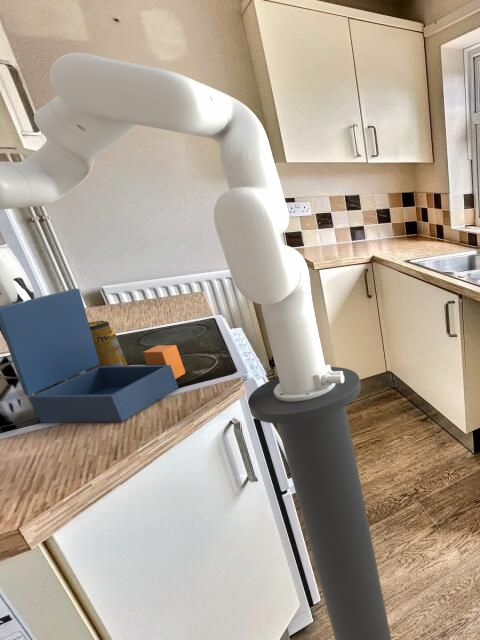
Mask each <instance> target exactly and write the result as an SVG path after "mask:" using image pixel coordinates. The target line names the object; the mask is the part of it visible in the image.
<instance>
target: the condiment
mask: <svg viewBox="0 0 480 640" xmlns="http://www.w3.org/2000/svg"><path fill="white" fill-rule="evenodd" d="M88 323H89V327H90V330H91V334H92V337H93V341H94V345H95V348H96V352H97V356H98V359H99V363H100V364H99V365H97V366H95V367H93V368H90V370H92V369H94V368H96V367H98V366H143V365H144V364H131V365H128V363H127V362H128V361H127V360H126V357H125V355H124V352H123V350H122V347H121V345H120V341H119V339H118V337H117V334H116V333H115V332H114V331H113V330H112V328H111V326H110V323H109V322H108V321H107V320H95V321H90V322H89V321H88Z"/></svg>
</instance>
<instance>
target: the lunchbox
mask: <svg viewBox="0 0 480 640" xmlns="http://www.w3.org/2000/svg"><path fill="white" fill-rule="evenodd" d="M142 365H143V366H128V365H127V366H98V367H96V368H94V369H88V370H86V371H84V372H82V373H79V374H77V375H75V376H72V377H70V378H68V379H66V380H63V381H61V382H59V383H57V384H54V385H52V386H50V387H48V388H45V389H43V390H41V391H39V392H36V393H34V394H32V395H29V396H28V400H29V402H30V404H31V406H32V407H33V410H34V412H35V414H36V416H37V418H38V419H39V421H40V423H42V424H43V423H44V424H45V423H46V424H47V423H109V422H110V423H117V422H118V423H121V422H124V421H125V420H127V419H129V418H130V417H132V416H134V415H136V414H137V413H139V412H141V411H142V410H144V409H145V408H147V407H149V406H151V405H152V404H154V403H155V402H157V401H158V400H160V399H162V398H163V397H166V396H167V395H168V394H170V393H172V392H174V391H175V390H177V389H178V388H179V384H178V381H177V378H176V379H175V376H174V373H173V371H172V368H171V365H147V364H146V365H145V364H142Z"/></svg>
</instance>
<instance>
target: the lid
mask: <svg viewBox="0 0 480 640" xmlns="http://www.w3.org/2000/svg"><path fill="white" fill-rule="evenodd" d="M0 327H1V329H2V332H3V335H4V337H3V339H4V338H5V339H4V341H5V343H6V346H7V349H8V352H9V354H10V358H11V360H12V364H13V366H14V368H15V371H16V374H17V378H18V380H19V382H20V383H19V384H20V385H21V388H22V391H23V393H24V395H25V396H32V395H34V394H37V393H39V392H41V391H44V390H46V389H48V388H50V387H53V386H55V385H57V384H59V383H62V382H64V381H66V380H69V379H71V378H73V377H75V376H78V375H80V374H82V373H84V372H87V371H89V370H91V368H93V367H95V366H97V365H99V364H100V363H99V359H98V356H97V352H96V348H95V345H94V341H93V337H92V334H91V330H90V327H89V320H88V315H87V311H86V308H85V305H84V302H83V298H82V295H81V290H80V288H76V287H75V288H71V289H68V290H63V291H59V292H54V293H49V294H47V295H42V296H38V297H35V298H34V299H30V300H26V301H22V302H18V303H14V304H10V305H6V306H2V307H0ZM3 335H2V336H3Z"/></svg>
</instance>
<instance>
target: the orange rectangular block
mask: <svg viewBox="0 0 480 640" xmlns="http://www.w3.org/2000/svg"><path fill="white" fill-rule="evenodd" d="M142 355H143V357H144V361H145V363H146V365H171V368H172V371H173V373H174V376H175V379H176V380H177V379H178V378H180V377H182V376H183V375H185V374H186V369H185V367H184V363H183V361H182V358H181V356H180V353H179V349H178V347H177V344H170V345H169V344H168V345H167V344H166V345H165V344H164V345H163V344H161V345H155V346H153V347H151V348H149V349H146V350H144V351H142Z"/></svg>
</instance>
